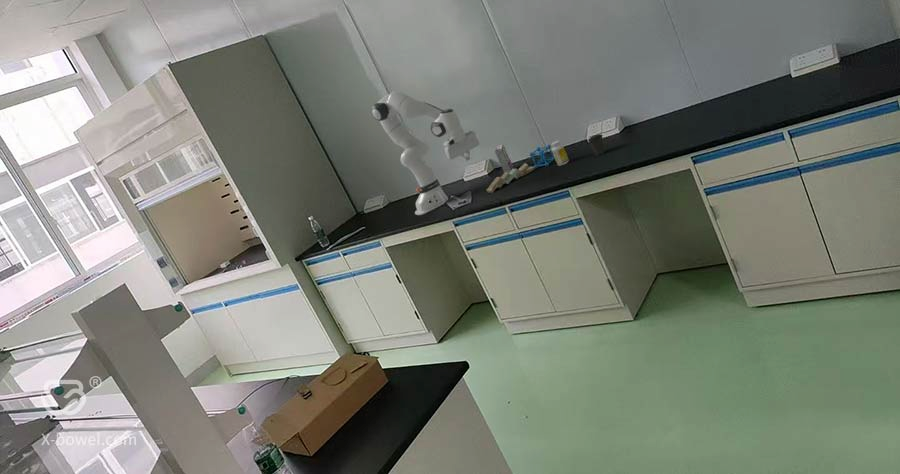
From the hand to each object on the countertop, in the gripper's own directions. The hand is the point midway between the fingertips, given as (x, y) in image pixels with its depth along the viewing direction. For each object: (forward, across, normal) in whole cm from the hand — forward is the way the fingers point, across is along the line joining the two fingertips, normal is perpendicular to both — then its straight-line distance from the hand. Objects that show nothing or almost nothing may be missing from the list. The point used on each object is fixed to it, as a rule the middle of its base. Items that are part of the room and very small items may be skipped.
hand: (467, 160), depth 356 cm
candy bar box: (+23, -31, -21) cm, 44 cm away
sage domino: (+22, -15, 0) cm, 27 cm away
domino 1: (+22, -4, 0) cm, 22 cm away
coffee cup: (+23, -54, +42) cm, 72 cm away
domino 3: (+22, -22, +2) cm, 31 cm away
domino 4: (+22, -25, +1) cm, 34 cm away
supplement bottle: (+23, -42, +23) cm, 53 cm away
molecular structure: (+23, -41, +6) cm, 47 cm away
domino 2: (+22, -10, 0) cm, 24 cm away
